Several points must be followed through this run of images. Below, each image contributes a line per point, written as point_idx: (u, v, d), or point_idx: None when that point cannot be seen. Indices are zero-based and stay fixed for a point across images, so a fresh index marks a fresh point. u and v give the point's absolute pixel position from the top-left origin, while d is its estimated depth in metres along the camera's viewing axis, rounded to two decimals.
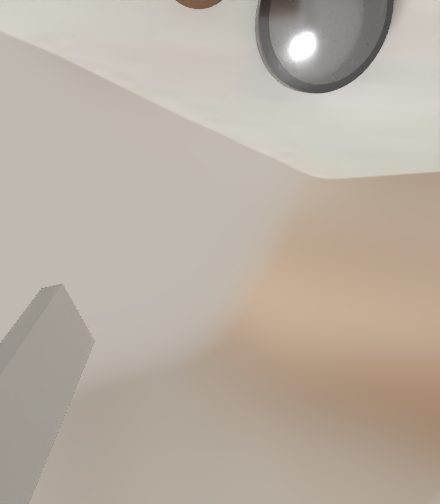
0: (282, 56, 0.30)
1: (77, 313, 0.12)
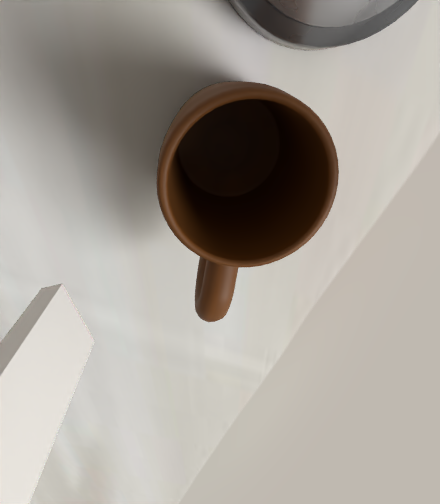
0: None
1: (77, 313, 0.12)
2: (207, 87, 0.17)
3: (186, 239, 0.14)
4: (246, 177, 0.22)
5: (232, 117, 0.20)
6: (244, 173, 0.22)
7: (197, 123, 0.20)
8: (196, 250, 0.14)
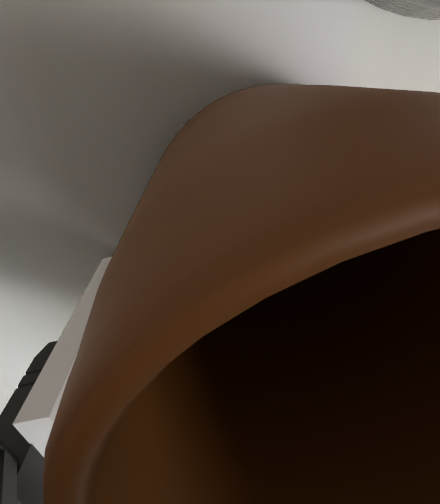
0: None
1: None
2: (232, 98, 0.07)
3: None
4: None
5: None
6: None
7: None
8: None
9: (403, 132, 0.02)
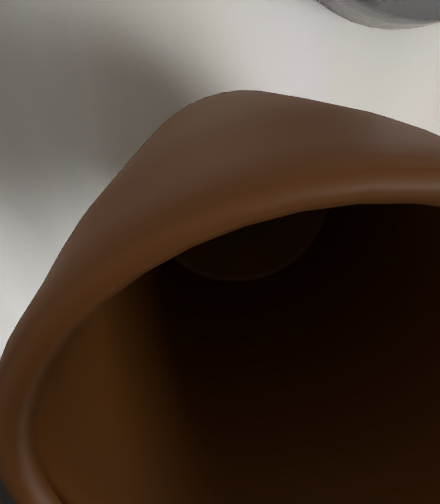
0: None
1: None
2: (195, 105, 0.08)
3: None
4: (268, 252, 0.13)
5: None
6: (265, 245, 0.13)
7: None
8: None
9: (257, 145, 0.03)
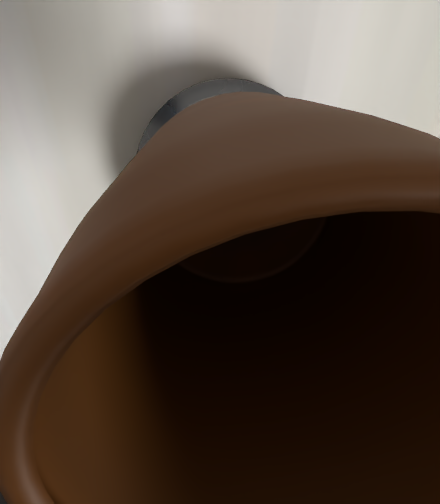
0: None
1: None
2: (195, 107, 0.08)
3: None
4: (268, 253, 0.13)
5: None
6: (266, 247, 0.13)
7: None
8: None
9: (259, 151, 0.03)
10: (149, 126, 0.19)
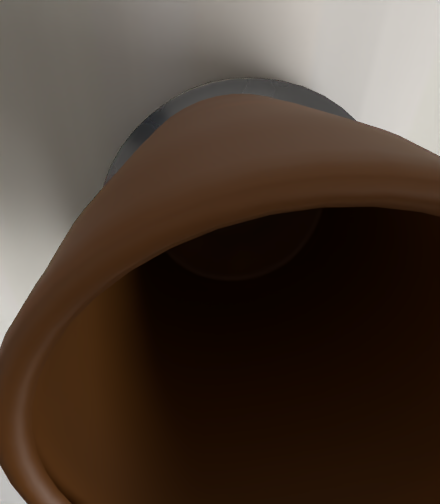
0: None
1: None
2: (188, 109, 0.08)
3: None
4: (264, 251, 0.13)
5: None
6: (261, 245, 0.13)
7: None
8: None
9: (233, 153, 0.03)
10: (119, 156, 0.12)
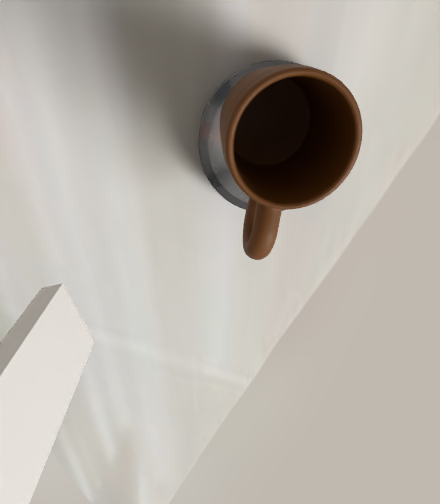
0: None
1: (77, 313, 0.12)
2: (254, 71, 0.21)
3: (245, 186, 0.18)
4: (281, 148, 0.26)
5: (271, 97, 0.24)
6: (279, 144, 0.26)
7: None
8: (252, 195, 0.18)
9: (281, 68, 0.16)
10: (213, 99, 0.25)
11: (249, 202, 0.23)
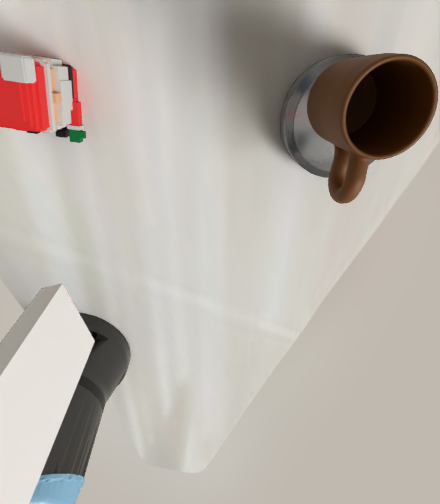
0: None
1: (77, 313, 0.12)
2: (344, 60, 0.28)
3: (350, 141, 0.25)
4: (351, 123, 0.33)
5: None
6: (350, 120, 0.33)
7: None
8: (354, 147, 0.25)
9: (385, 55, 0.23)
10: (301, 83, 0.32)
11: (335, 161, 0.30)
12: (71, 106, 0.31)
